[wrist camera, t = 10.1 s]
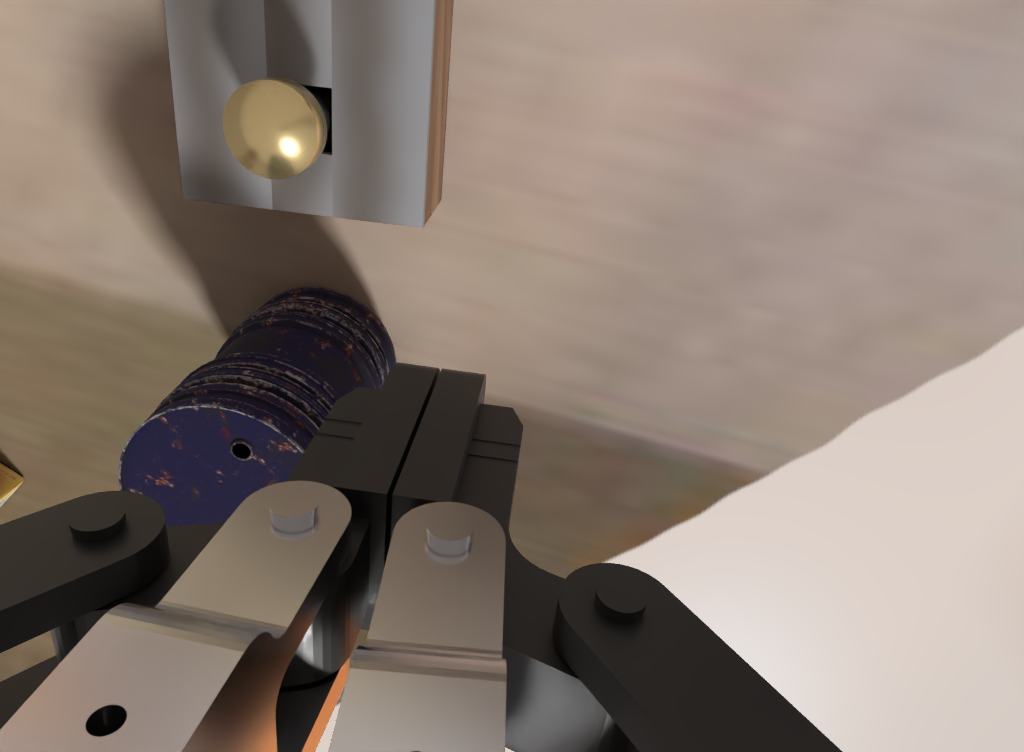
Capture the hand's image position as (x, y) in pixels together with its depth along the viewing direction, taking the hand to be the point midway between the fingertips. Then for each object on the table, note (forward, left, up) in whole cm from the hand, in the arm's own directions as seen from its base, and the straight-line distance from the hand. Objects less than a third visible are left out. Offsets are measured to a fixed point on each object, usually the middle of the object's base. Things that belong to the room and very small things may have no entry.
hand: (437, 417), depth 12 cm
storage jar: (+11, +15, -31) cm, 37 cm away
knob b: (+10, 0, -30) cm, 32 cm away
